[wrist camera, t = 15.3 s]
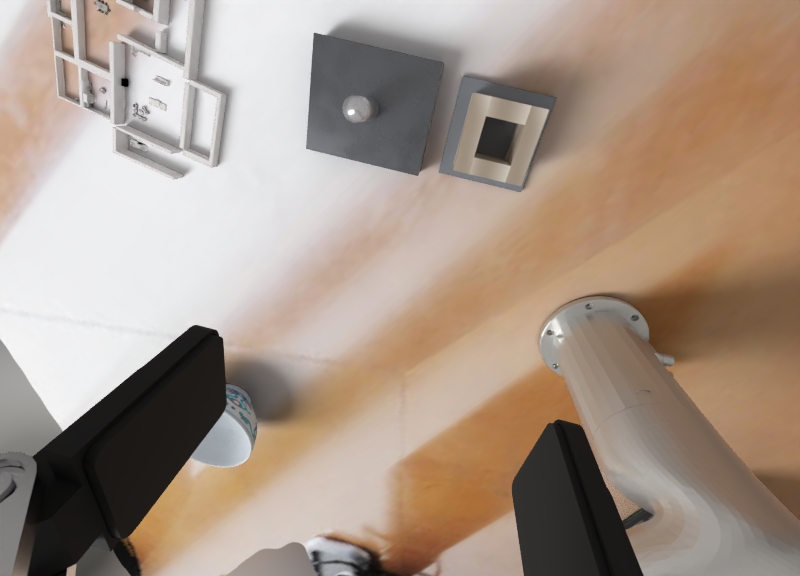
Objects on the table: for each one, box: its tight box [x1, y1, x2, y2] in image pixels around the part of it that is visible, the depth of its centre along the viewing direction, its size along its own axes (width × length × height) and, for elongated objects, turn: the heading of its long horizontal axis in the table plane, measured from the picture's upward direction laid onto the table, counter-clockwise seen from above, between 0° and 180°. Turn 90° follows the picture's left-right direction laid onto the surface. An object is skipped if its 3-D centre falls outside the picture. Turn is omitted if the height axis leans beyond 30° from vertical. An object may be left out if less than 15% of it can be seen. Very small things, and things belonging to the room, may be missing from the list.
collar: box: [453, 92, 549, 186], centre depth 32 cm, size 6×6×5 cm
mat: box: [439, 76, 556, 192], centre depth 35 cm, size 9×9×1 cm
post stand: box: [306, 33, 444, 176], centre depth 32 cm, size 12×10×8 cm
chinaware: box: [190, 384, 257, 467], centre depth 56 cm, size 15×15×8 cm
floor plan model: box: [47, 0, 227, 180], centre depth 37 cm, size 19×25×2 cm
